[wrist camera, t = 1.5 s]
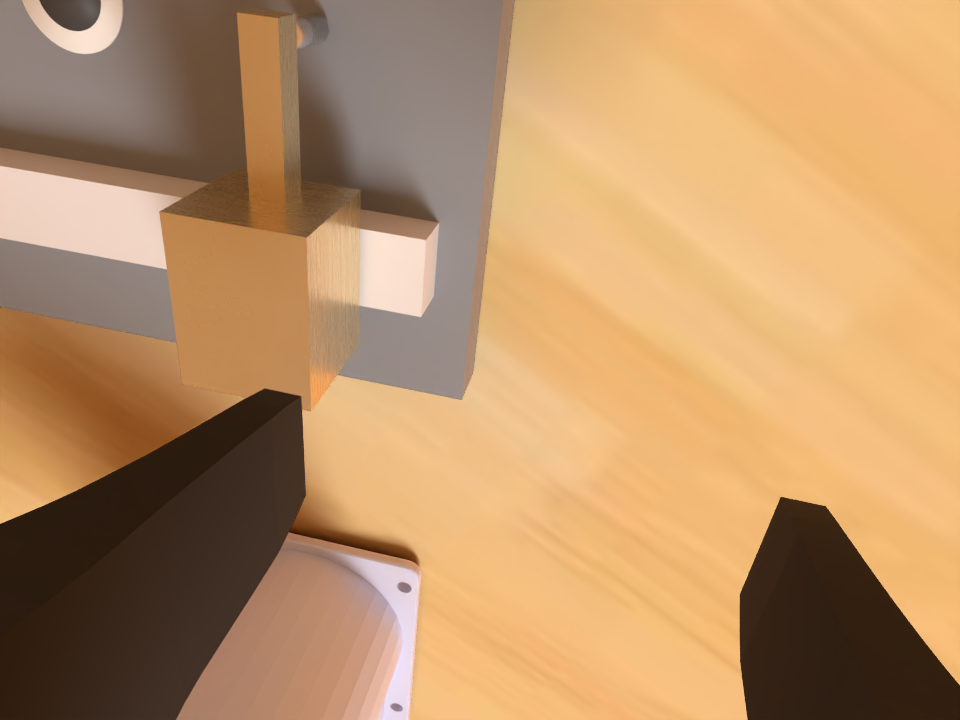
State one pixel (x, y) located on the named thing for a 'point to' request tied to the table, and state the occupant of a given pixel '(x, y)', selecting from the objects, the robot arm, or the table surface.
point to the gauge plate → (222, 148)
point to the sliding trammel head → (266, 242)
